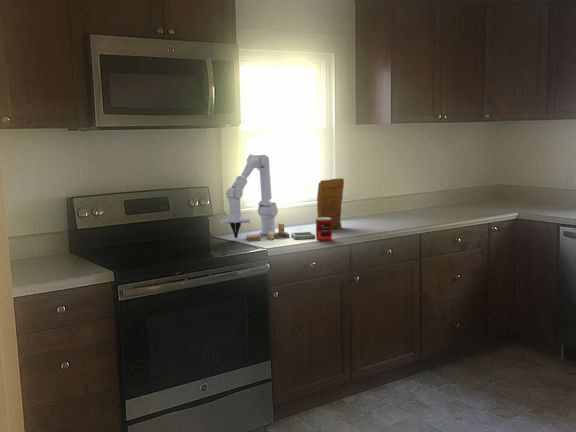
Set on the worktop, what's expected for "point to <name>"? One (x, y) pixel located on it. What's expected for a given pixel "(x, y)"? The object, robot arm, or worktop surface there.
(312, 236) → the tray
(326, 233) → the canned food
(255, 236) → the brown wooden board
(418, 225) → the worktop surface
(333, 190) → the pancake mix bag
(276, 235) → the socket block
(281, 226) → the dowel
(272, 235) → the block
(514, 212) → the worktop surface
